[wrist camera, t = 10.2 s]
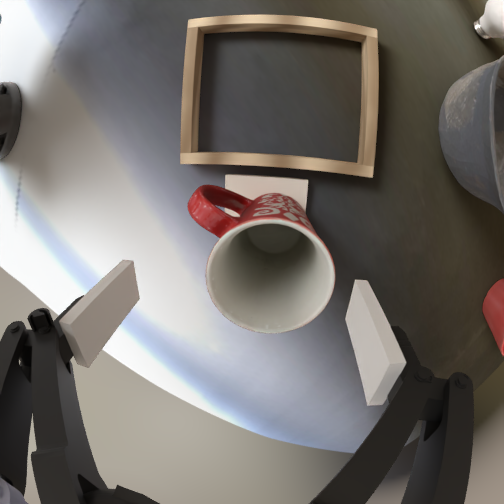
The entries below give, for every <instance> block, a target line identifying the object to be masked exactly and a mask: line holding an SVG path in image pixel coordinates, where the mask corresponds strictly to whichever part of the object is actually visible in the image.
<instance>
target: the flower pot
mask: <svg viewBox="0 0 504 504" xmlns="http://www.w3.org/2000/svg"><path fill="white" fill-rule="evenodd" d="M482 310H483V314H484V316H485V318H486V321H487V323H488V325H489V327H490V329H491V331H492V334H493V336H494V338H495V340H496V342H497V345H498V347H499V349H500V351H501V354H502V355H503V356H504V279H501V280H499V281H497V282H496V283H495V284H494V285H493V286H492V287H491V288H490V290H489V291H488V293H487V296H486V297H485V299H484V302H483V307H482Z"/></svg>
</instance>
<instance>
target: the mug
mask: <svg viewBox="0 0 504 504" xmlns="http://www.w3.org/2000/svg"><path fill="white" fill-rule="evenodd" d="M215 205H217V206H220V207H224V208H227V209H230V210H232V211H234V212H236V213H238V214H239V215H240V217H234V216H231V215H229V214H227V213H225V212H223V211H222V210H220V209H219V208H217V207H216V206H215ZM188 211H189V213H190V215H191V216H192V218H193V219H194V220H195V221H196V222H197V223H198V224H199V225H200V226H202V227H203V228H205V229H206V230H208V231H209V232H211V233H213V234H215V235H216V236H217V237H219V238H220V239H219V240H218V241H217V243H216V244H215V246H214V247H213V249H212V251H211V253H210V256H209V258H208V261H207V266H206V275H205V276H206V284H207V289H208V292H209V295H210V297H211V299H212V301H213V303H214V304H215V306H216V307H217V308H218V310H219V311H220V312H221V313H222V314H223V315H224V316H225V317H226V318H227V319H229V320H230V321H232V322H233V323H235V324H237V325H238V326H240V327H243V328H245V329H248V330H251V331H254V332H259V333H270V334H271V333H283V332H288V331H291V330H295V329H297V328H300V327H302V326H304V325H306V324H308V323H309V322H311V321H312V320H313V319H314V318H316V317H317V316H318V315H319V314H320V313H321V312H322V311H323V309H324V308H325V307H326V305H327V304H328V302H329V300H330V298H331V296H332V293H333V290H334V286H335V266H334V262H333V259H332V256H331V254H330V252H329V250H328V248H327V246H326V245H325V244H324V242H323V241H322V240H321V239H320V238H319V237H318V235H317V234H316V232H315V230H314V229H313V227H312V225H311V223H310V221H309V219H308V217H307V216H306V213H305V212H304V210H303V208H302V207H301V205H300V204H299V203H298V202H297V201H295V200H294V199H293V198H291V197H289V196H287V195H284V194H280V193H268V194H264V195H261V196H259V197H257V198H256V199H254V200H251V199H249V198H246V197H244V196H242V195H240V194H238V193H235V192H233V191H230V190H228V189H225V188H222V187H219V186H214V185H203V186H200V187H199V188H198V189H197V190H196V191H195V192H194V193H193V195H192V197H191V198H190V200H189V202H188Z"/></svg>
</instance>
